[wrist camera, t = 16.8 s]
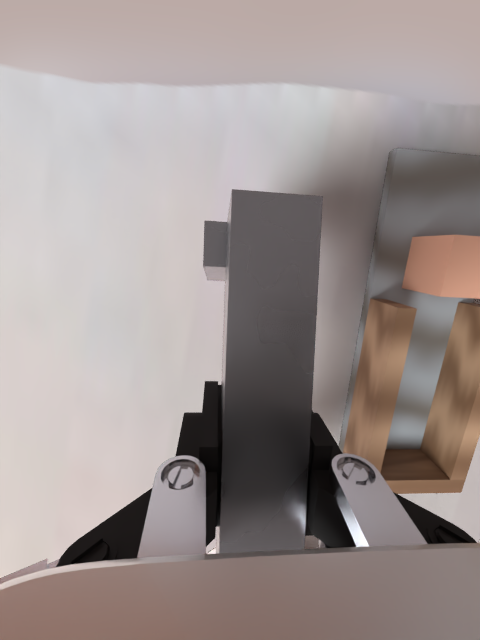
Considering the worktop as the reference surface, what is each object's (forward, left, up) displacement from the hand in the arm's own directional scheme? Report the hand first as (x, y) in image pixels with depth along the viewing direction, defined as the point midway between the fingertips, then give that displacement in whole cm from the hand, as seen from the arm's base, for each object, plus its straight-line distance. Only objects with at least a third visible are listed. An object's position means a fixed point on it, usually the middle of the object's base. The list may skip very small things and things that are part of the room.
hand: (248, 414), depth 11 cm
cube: (-18, +2, -13) cm, 23 cm away
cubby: (-16, +7, -14) cm, 22 cm away
